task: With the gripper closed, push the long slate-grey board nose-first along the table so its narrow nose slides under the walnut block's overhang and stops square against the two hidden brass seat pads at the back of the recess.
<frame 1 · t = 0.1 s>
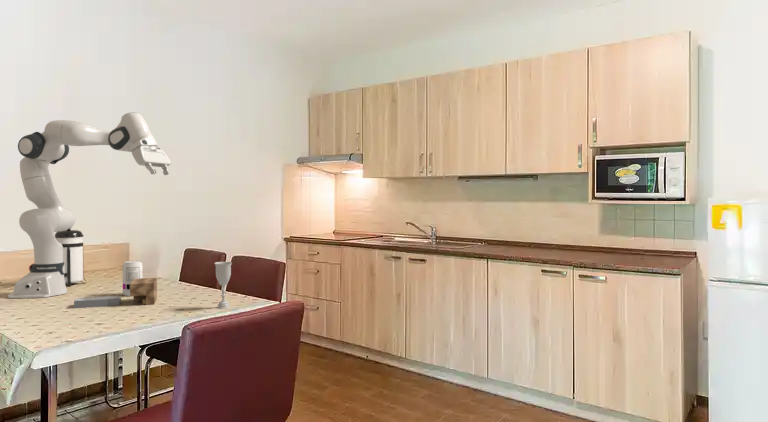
hand: (160, 174, 228), 54 cm above the table, tool tilted 30°, fingers open, 8 cm apart
chalice: (223, 307, 213), on the table
shelf block: (145, 301, 223), on the table
board: (98, 305, 216), on the table
coffee press: (68, 285, 264), on the table
supplement can: (132, 295, 239), on the table
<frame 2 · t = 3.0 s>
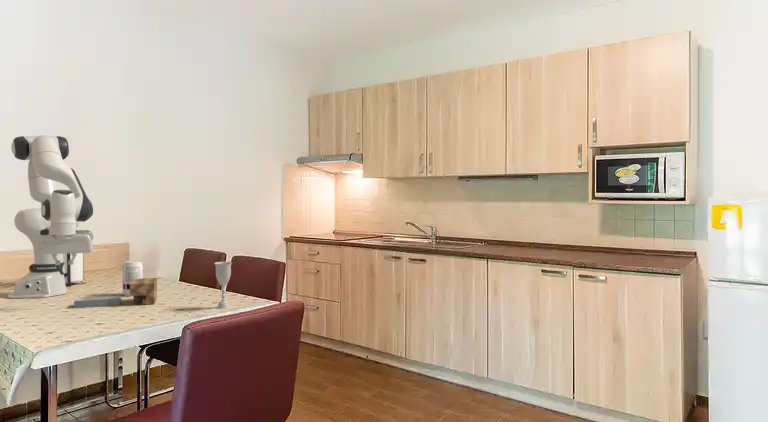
hand: (64, 264, 212), 17 cm above the table, tool pointing down, fingers open, 3 cm apart
nothing on the table moved.
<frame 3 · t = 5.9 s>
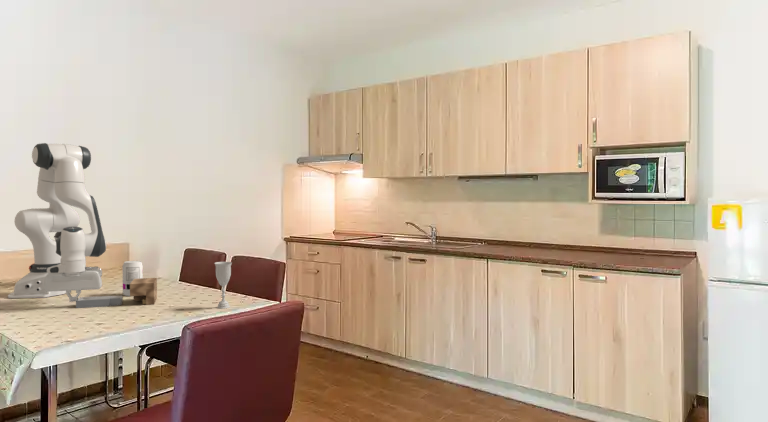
hand: (73, 301, 213), 2 cm above the table, tool pointing down, fingers closed
board: (100, 305, 216), on the table, touching gripper
everything else where it was.
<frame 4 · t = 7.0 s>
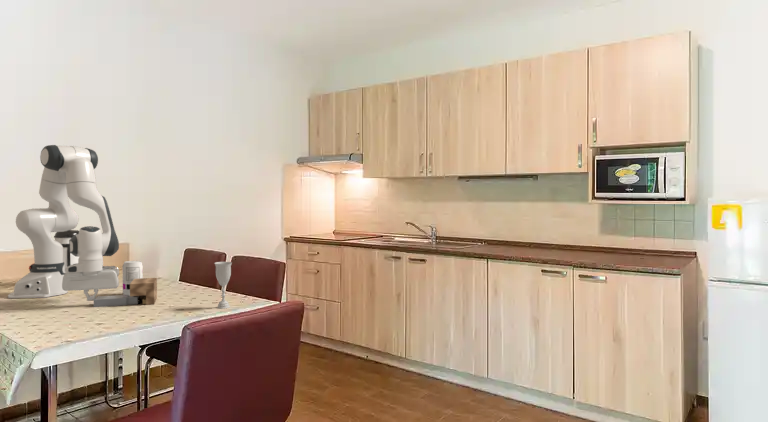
hand: (91, 300, 215), 2 cm above the table, tool pointing down, fingers closed
board: (117, 304, 218), on the table, touching gripper
everything else where it was.
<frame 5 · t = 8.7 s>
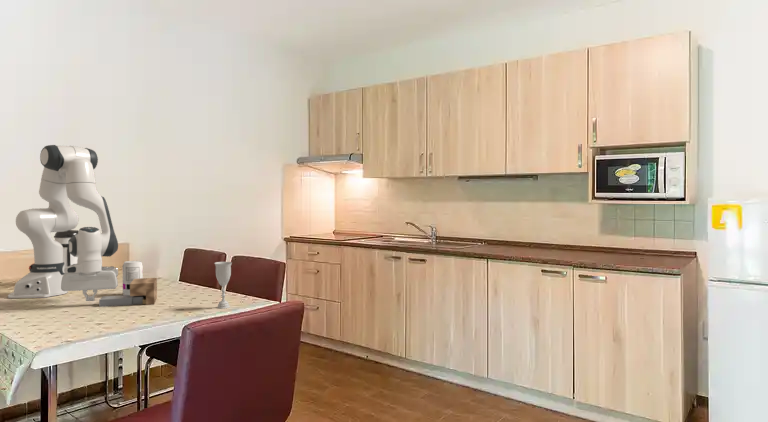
hand: (90, 300, 215), 2 cm above the table, tool pointing down, fingers closed
board: (122, 304, 219), on the table
everything else where it was.
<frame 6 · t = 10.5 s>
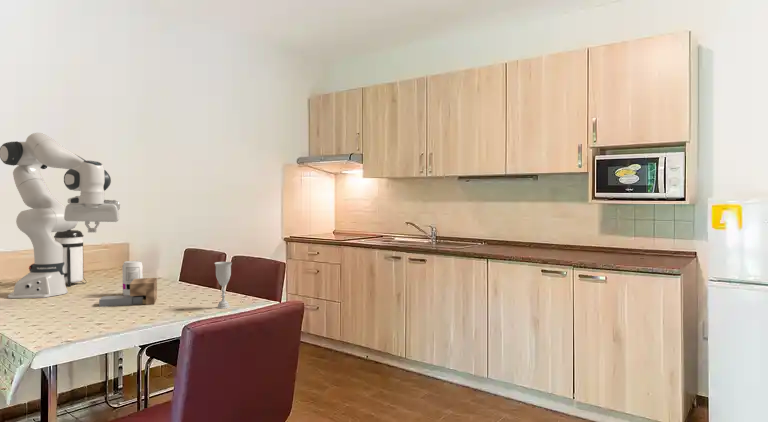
hand: (92, 232, 222), 29 cm above the table, tool pointing down, fingers closed
nothing on the table moved.
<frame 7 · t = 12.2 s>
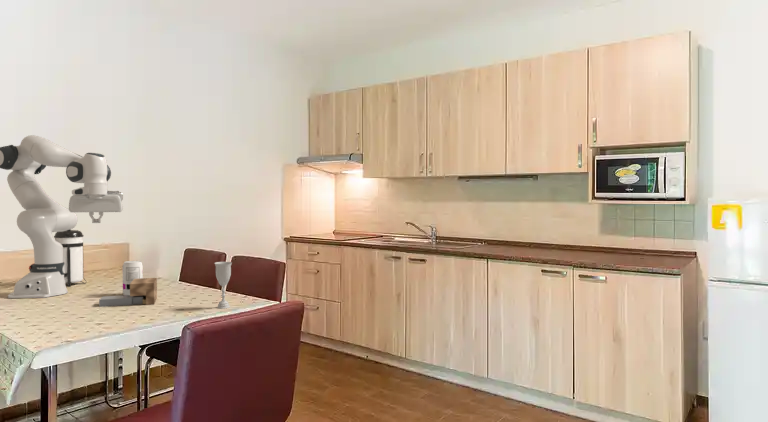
hand: (96, 223, 226), 33 cm above the table, tool pointing down, fingers closed
nothing on the table moved.
at the end: board 0.1 cm from the target spot on the table beside the shelf block, on the table; board tilted 0° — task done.
